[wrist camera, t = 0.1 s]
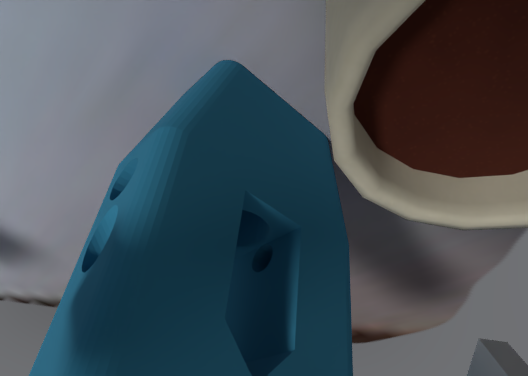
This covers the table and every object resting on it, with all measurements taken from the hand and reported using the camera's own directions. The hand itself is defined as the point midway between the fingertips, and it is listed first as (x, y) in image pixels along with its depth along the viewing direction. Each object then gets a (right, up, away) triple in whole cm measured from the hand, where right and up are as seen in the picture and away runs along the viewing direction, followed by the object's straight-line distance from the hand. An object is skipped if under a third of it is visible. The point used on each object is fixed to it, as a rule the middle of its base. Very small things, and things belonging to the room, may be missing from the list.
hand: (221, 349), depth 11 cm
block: (+1, +8, +15) cm, 17 cm away
